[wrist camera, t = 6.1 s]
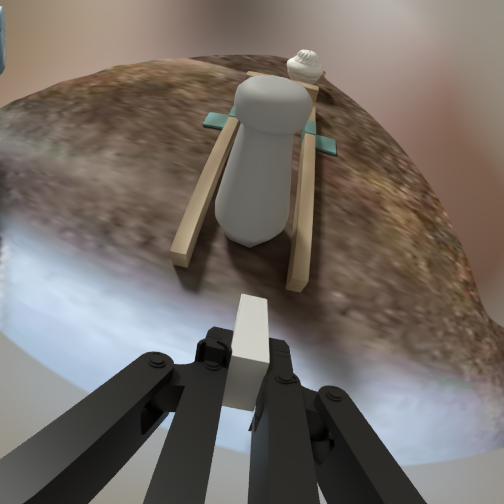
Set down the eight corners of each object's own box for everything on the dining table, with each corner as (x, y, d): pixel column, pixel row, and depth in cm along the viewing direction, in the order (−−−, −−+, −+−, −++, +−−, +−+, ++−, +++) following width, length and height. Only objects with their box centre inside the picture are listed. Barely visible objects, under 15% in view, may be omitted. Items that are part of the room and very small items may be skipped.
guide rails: (137, 255, 21) (125, 225, 18) (224, 91, 37) (226, 68, 33) (337, 300, 21) (359, 277, 18) (331, 114, 37) (339, 92, 33)
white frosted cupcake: (320, 84, 43) (329, 52, 37) (315, 95, 40) (325, 59, 34) (287, 74, 43) (295, 42, 37) (278, 84, 40) (286, 48, 34)
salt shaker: (294, 241, 24) (352, 107, 13) (234, 267, 22) (260, 117, 11) (259, 193, 26) (289, 64, 15) (203, 213, 24) (206, 70, 13)
